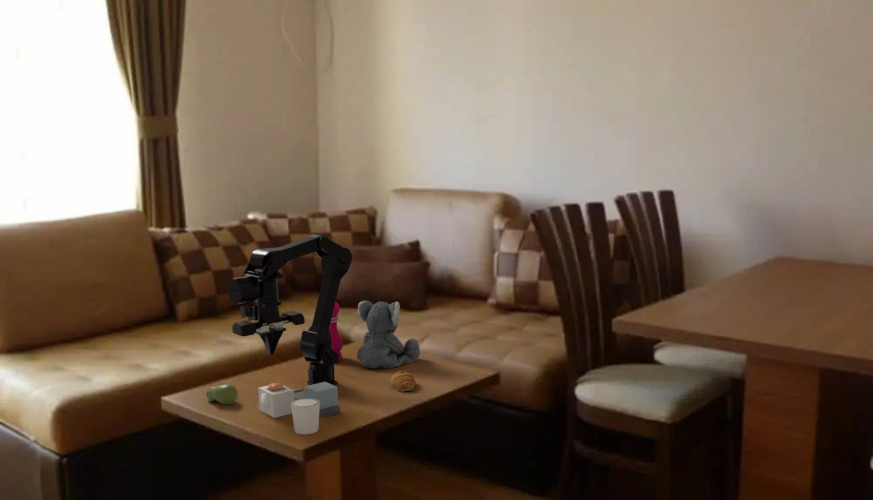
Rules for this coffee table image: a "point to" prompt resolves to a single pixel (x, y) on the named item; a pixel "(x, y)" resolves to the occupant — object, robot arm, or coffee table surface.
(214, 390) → the green eggplant
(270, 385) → the button
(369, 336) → the koala plush
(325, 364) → the robot arm
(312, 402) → the shot glass
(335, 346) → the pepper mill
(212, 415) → the coffee table surface
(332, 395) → the block
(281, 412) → the cabinet
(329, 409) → the rail
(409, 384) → the pastry
